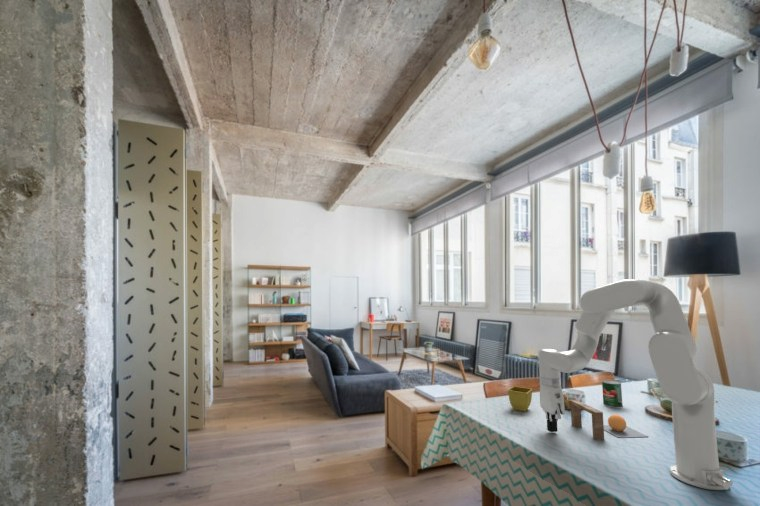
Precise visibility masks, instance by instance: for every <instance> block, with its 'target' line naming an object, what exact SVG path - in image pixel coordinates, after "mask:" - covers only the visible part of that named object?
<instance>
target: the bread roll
mask: <svg viewBox="0 0 760 506" xmlns="http://www.w3.org/2000/svg"><path fill="white" fill-rule="evenodd" d="M563 398H564V406H565V410H570V411H571V402H570V400H574V399H570V400H567V397H566V396H565V394H563Z"/></svg>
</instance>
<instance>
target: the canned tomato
mask: <svg viewBox="0 0 760 506" xmlns="http://www.w3.org/2000/svg"><path fill="white" fill-rule="evenodd" d="M601 387H602V388H601V389H602V403H603V405H604V406H606V407H609V406H610V408H614V407H622V408H623V394H622V391H623V390H622V382H620V381H617V380H611V379H602V380H601Z"/></svg>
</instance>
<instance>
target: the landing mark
mask: <svg viewBox="0 0 760 506" xmlns="http://www.w3.org/2000/svg"><path fill="white" fill-rule="evenodd" d="M604 432H606V433H609V434H610V435H612V436H614V437H616V439H617V438H618V439H625V438H630V439H631V438H633V439H634V438H649V436H648V435H646V434H644V433H642V432H639V431H638V430H636V429H634V428H632V427H629V426H628V425H626V428H625V429H624V430H623V431H615V430H613V429H612V428H611V427H610V426H609V424H607V425H605V424H604Z"/></svg>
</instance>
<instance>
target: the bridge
mask: <svg viewBox="0 0 760 506" xmlns="http://www.w3.org/2000/svg"><path fill="white" fill-rule="evenodd" d="M580 401H581V400H580ZM580 401H578V400H570V402H571V410H570V418H571V422H570V423H571V426H572V425H573V427H574V428H582V426H583V423H582V410H583V411H585V412H587V413H589V414H591V424H592V425H591V426H592V438H593V439H594V440H596V441H605V430H604V425H605V424H604V412H603V411H601V410H599V409H596V408H595V407H593V406H591V405H588V404H586V403H584V402H582V401H581V402H580Z"/></svg>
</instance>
